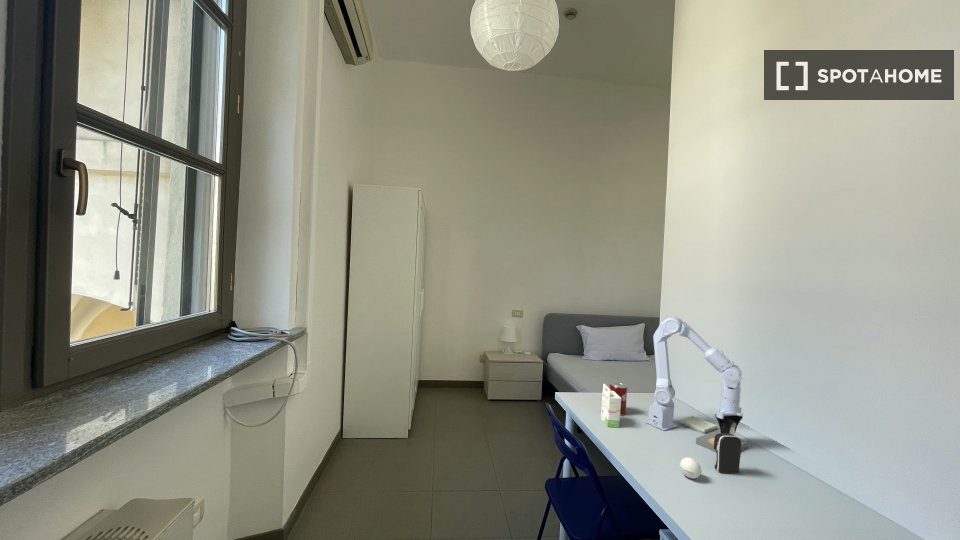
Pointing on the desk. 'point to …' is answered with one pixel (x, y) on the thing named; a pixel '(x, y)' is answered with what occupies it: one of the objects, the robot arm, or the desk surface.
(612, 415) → the ink box
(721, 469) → the battery charger
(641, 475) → the desk surface
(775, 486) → the desk surface
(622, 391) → the soda can
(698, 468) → the white egg
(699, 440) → the housing
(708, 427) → the tray
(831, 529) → the desk surface
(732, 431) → the grey cylinder
